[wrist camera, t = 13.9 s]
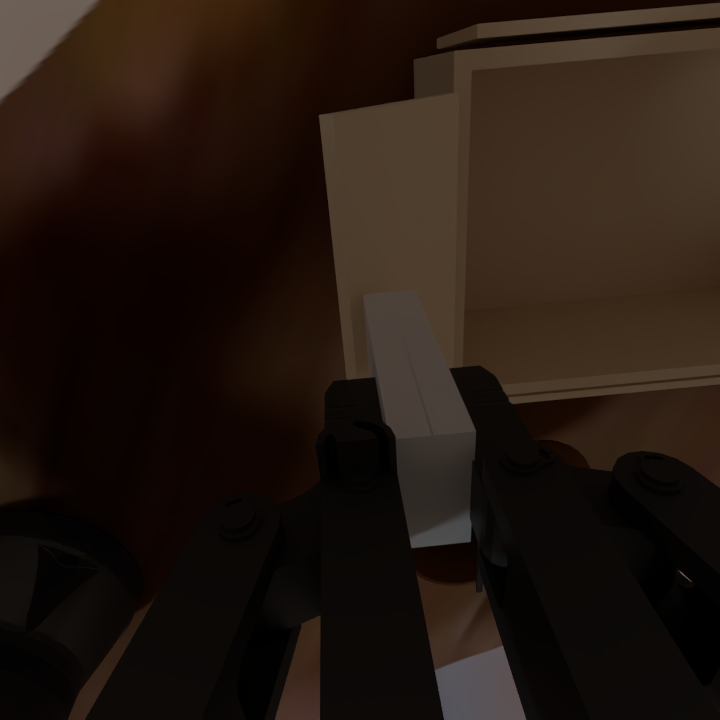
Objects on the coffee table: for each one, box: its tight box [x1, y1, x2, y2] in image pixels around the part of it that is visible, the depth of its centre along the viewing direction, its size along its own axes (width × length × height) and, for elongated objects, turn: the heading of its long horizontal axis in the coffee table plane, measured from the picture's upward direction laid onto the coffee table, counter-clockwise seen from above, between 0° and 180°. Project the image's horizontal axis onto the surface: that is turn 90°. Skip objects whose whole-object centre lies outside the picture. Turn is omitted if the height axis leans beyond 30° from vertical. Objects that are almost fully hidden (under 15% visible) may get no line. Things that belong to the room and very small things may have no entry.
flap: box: [319, 92, 459, 380], centre depth 17 cm, size 7×12×1 cm
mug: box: [412, 440, 590, 588], centre depth 32 cm, size 12×8×9 cm, turn 117°
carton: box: [414, 3, 720, 404], centre depth 24 cm, size 20×15×9 cm
